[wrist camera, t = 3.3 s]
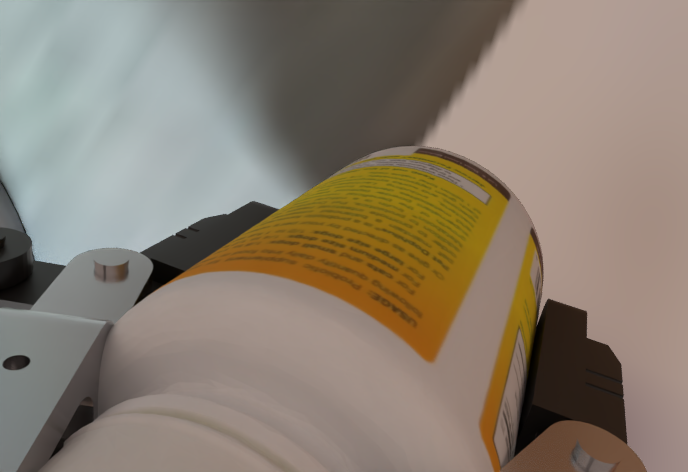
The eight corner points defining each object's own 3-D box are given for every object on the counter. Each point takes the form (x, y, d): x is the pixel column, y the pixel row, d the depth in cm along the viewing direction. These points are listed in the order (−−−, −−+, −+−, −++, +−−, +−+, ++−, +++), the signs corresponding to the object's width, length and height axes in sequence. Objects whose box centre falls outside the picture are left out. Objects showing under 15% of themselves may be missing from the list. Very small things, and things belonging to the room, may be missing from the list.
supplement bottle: (277, 202, 15) (-180, 482, 6) (473, 94, 12) (166, 312, 3) (383, 385, 16) (110, 875, 7) (591, 319, 13) (586, 983, 4)
